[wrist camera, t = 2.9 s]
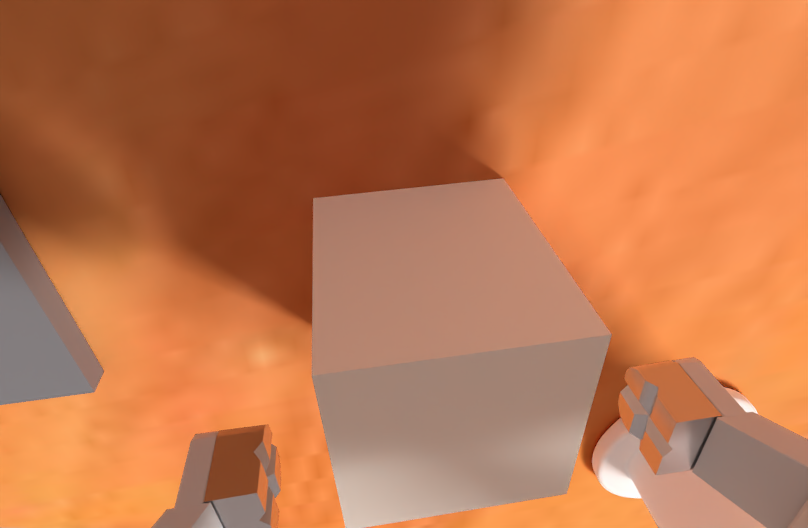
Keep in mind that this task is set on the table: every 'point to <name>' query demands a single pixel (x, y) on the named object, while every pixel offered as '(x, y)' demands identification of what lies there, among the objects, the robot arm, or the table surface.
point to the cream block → (446, 352)
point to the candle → (665, 484)
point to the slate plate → (37, 328)
